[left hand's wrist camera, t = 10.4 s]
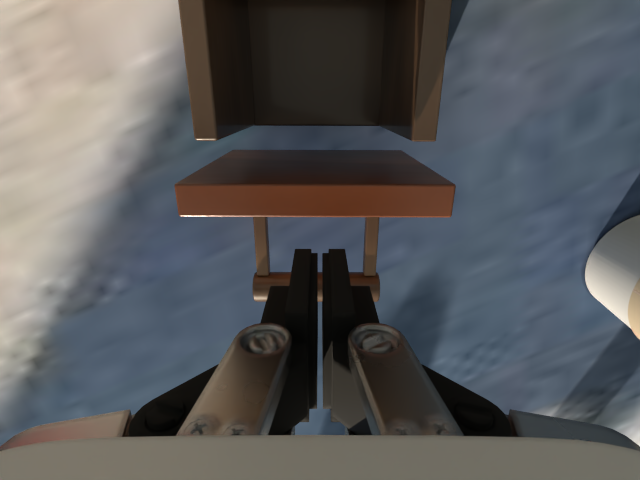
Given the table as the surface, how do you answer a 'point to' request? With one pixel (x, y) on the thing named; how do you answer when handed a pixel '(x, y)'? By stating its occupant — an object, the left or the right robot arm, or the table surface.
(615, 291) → the coffee cup
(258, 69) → the drawer
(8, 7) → the table surface
